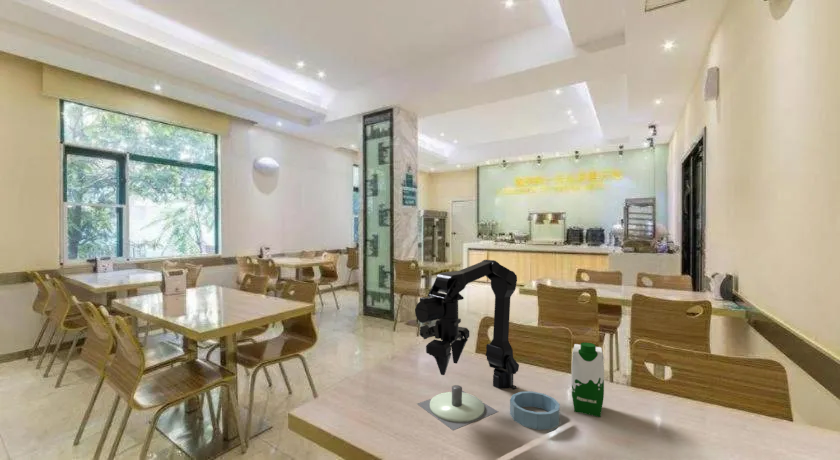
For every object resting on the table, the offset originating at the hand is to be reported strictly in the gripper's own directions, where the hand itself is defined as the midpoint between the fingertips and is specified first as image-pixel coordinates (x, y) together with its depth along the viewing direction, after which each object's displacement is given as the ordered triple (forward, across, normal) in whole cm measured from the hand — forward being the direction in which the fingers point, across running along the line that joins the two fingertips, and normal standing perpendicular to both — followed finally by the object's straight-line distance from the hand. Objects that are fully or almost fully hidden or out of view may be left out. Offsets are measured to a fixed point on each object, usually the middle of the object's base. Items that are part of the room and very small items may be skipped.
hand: (449, 368), depth 107 cm
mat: (+12, -1, +2) cm, 13 cm away
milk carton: (+13, -20, +36) cm, 43 cm away
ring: (+13, -7, +23) cm, 27 cm away
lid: (+12, -1, +2) cm, 12 cm away
